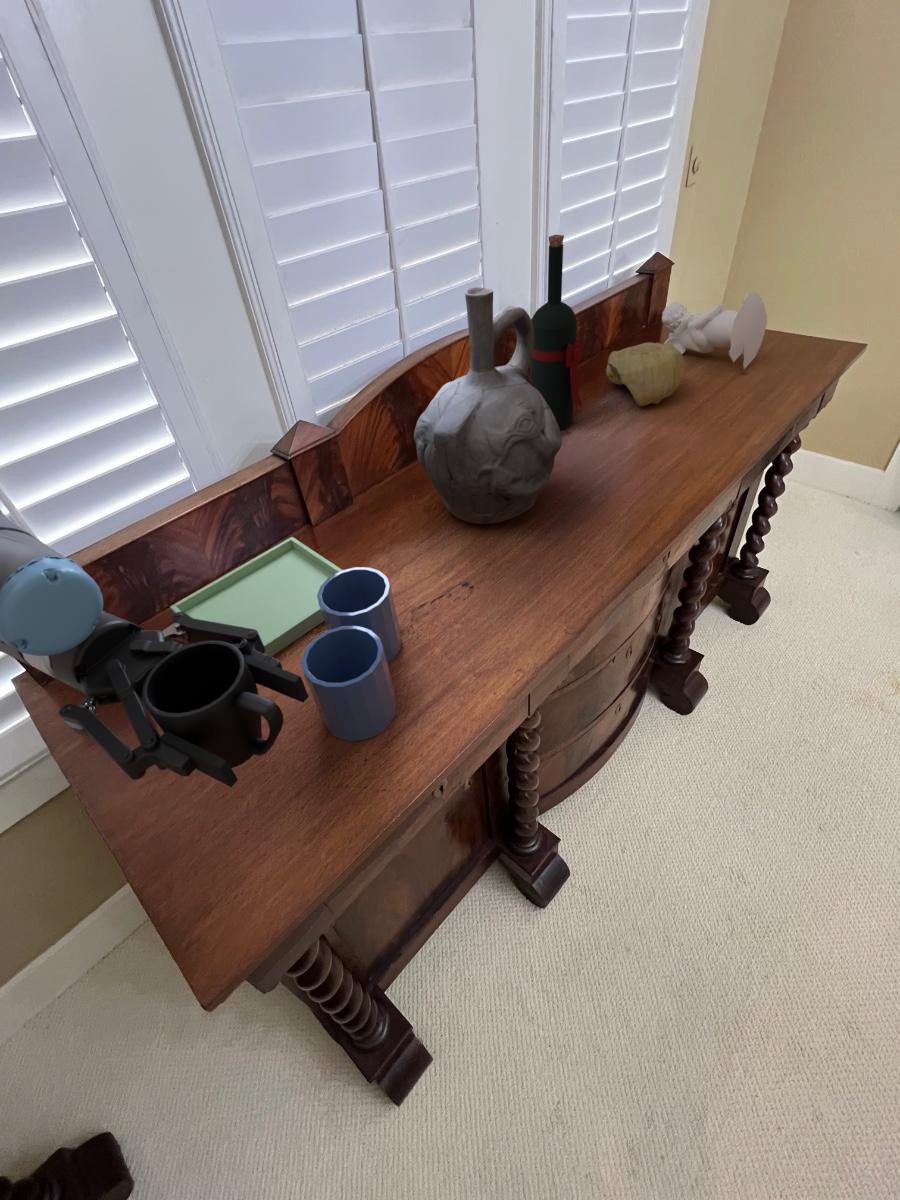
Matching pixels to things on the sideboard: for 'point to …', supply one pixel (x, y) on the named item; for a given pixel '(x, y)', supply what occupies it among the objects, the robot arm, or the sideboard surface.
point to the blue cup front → (350, 682)
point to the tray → (267, 595)
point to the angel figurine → (719, 328)
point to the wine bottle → (556, 345)
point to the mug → (212, 701)
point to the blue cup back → (362, 605)
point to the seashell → (647, 371)
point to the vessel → (489, 424)
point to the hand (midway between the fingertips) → (267, 729)
